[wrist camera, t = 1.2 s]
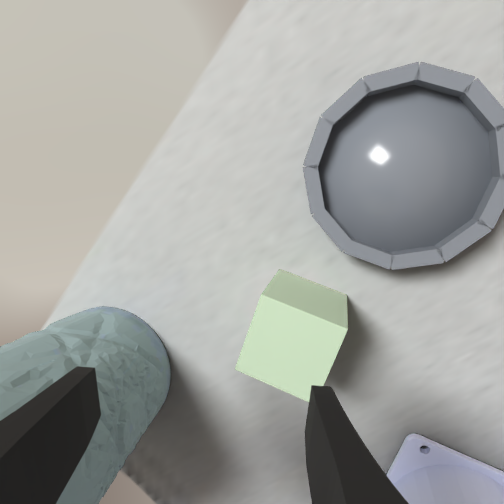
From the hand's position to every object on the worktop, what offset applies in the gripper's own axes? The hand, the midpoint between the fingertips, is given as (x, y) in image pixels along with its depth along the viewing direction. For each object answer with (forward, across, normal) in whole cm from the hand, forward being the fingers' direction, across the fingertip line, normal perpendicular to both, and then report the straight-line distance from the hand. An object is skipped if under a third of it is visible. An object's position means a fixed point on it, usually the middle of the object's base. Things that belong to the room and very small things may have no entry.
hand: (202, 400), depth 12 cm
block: (+9, -4, +2) cm, 10 cm away
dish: (+10, -8, -6) cm, 14 cm away
